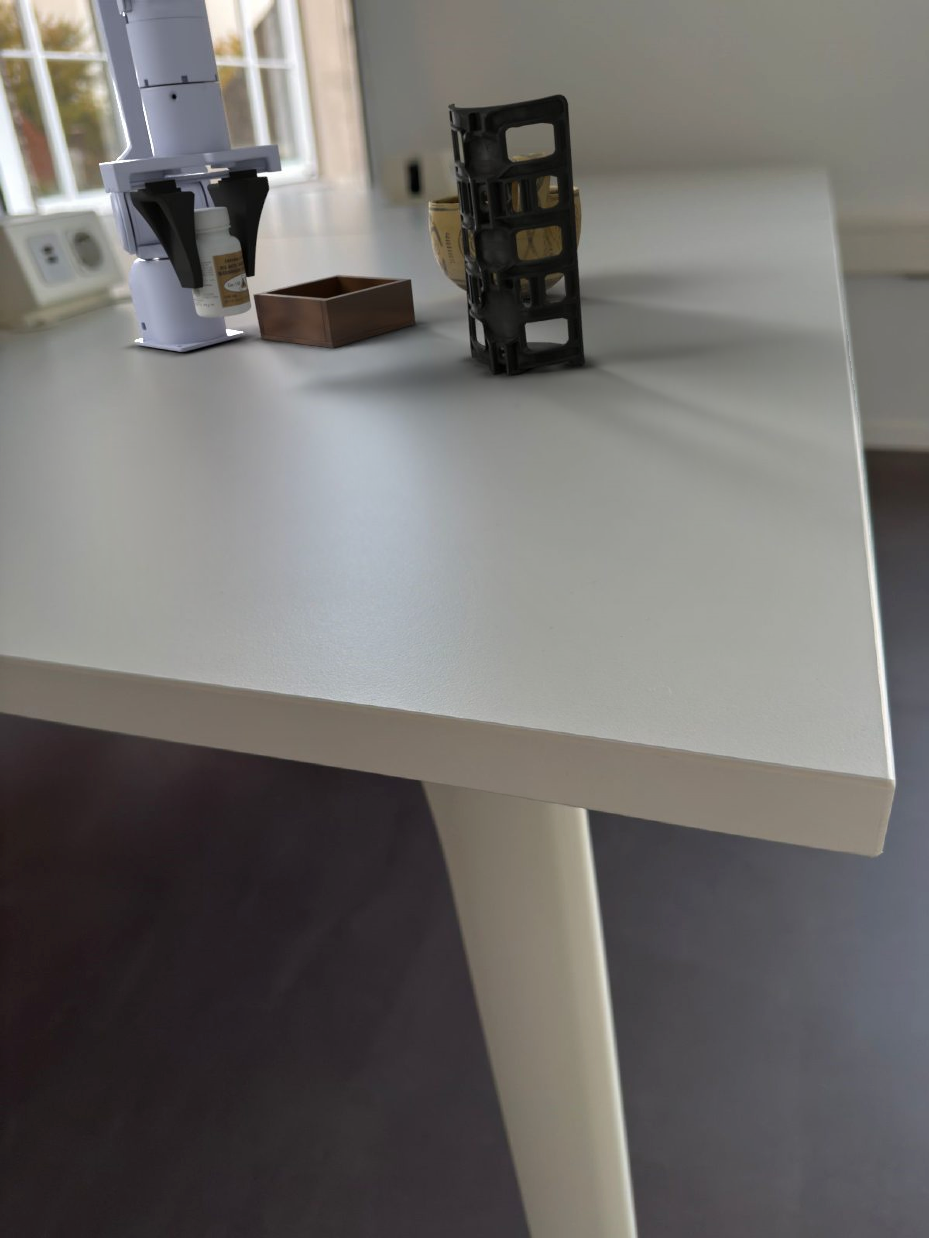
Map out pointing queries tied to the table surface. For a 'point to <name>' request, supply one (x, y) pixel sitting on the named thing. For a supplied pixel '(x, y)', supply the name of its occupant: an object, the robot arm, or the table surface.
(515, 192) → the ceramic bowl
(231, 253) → the pill bottle
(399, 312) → the box
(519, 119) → the holder
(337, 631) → the table surface
